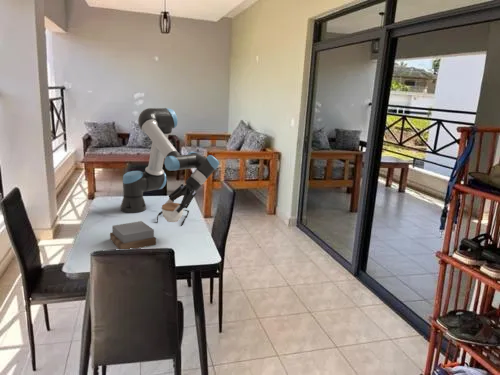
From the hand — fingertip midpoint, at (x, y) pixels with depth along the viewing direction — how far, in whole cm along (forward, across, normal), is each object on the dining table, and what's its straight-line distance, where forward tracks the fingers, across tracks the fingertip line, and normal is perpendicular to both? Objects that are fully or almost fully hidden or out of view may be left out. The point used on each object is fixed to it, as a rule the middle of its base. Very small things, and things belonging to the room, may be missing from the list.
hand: (167, 213), depth 197 cm
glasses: (0, +24, -20) cm, 32 cm away
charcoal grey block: (+19, +2, +5) cm, 20 cm away
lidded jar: (+1, 0, -5) cm, 5 cm away
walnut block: (+22, +2, +2) cm, 22 cm away
